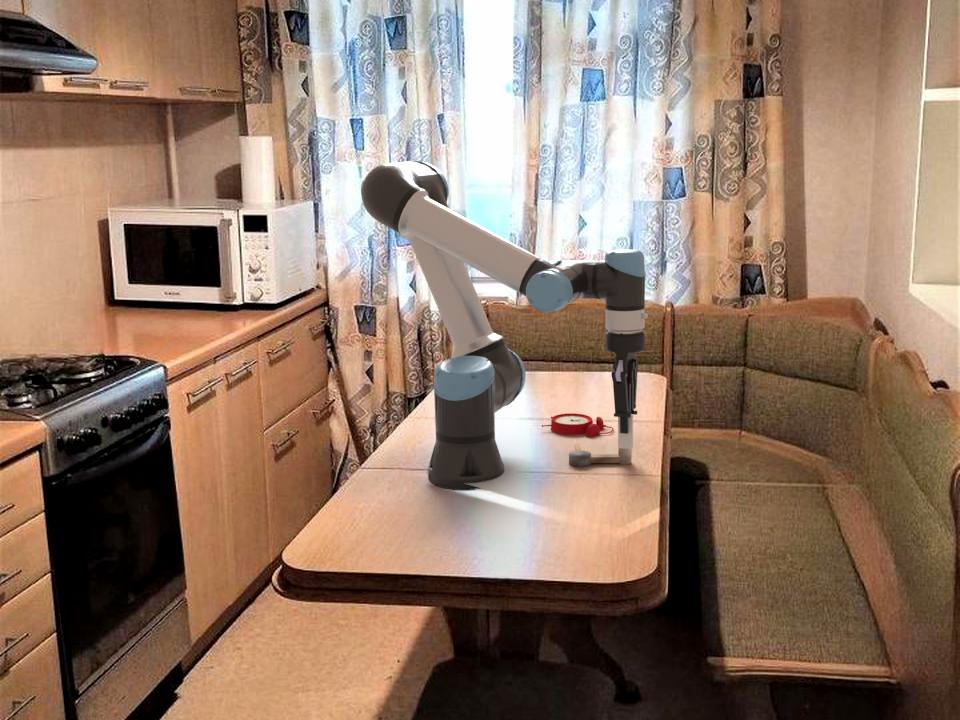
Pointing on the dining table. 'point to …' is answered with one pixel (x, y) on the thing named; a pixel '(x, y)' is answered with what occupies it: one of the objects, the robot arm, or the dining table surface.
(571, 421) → the alarm clock
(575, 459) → the peg lever
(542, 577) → the dining table surface
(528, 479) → the dining table surface
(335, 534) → the dining table surface
